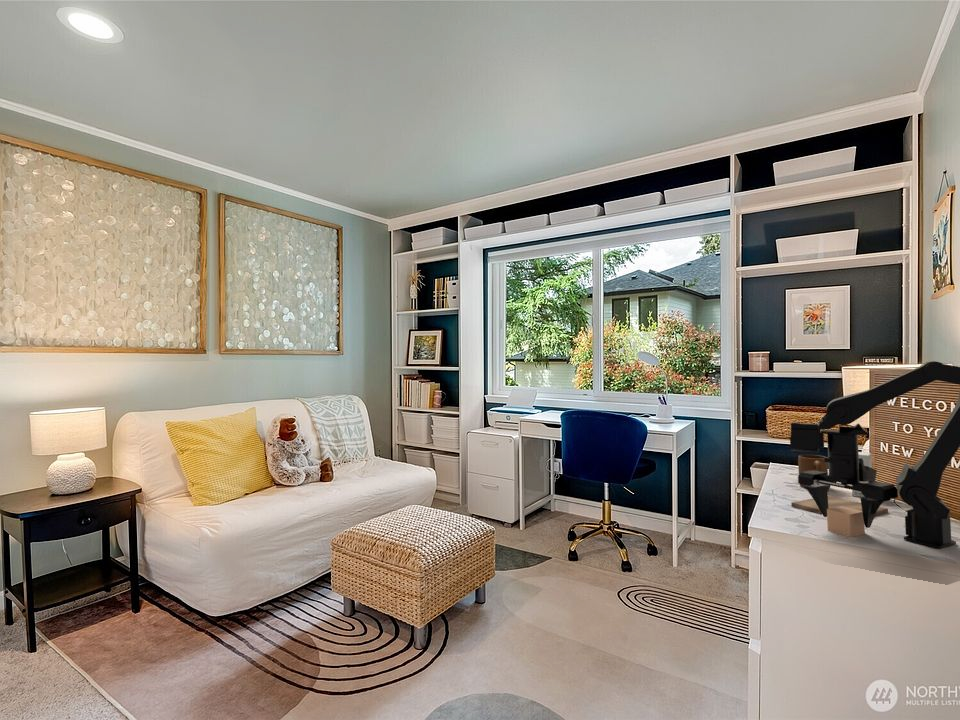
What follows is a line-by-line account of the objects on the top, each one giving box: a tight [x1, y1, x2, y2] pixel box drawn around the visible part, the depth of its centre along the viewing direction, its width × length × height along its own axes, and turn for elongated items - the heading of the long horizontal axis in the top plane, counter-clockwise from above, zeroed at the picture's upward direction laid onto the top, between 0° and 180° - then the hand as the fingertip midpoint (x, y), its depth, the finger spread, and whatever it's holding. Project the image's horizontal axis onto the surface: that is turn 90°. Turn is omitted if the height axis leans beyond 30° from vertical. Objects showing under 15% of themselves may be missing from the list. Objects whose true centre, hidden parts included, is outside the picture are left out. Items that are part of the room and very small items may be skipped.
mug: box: [797, 454, 829, 488], centre depth 155 cm, size 12×8×9 cm, turn 160°
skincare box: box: [851, 451, 872, 498], centre depth 147 cm, size 6×4×12 cm
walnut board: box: [790, 495, 889, 516], centre depth 134 cm, size 15×15×1 cm
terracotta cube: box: [826, 506, 866, 538], centre depth 116 cm, size 5×5×5 cm
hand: (846, 521), depth 116 cm, fingers open, 9 cm apart
